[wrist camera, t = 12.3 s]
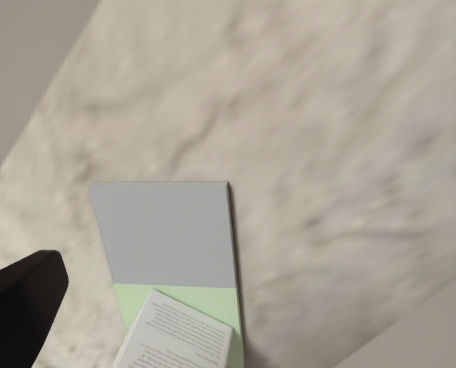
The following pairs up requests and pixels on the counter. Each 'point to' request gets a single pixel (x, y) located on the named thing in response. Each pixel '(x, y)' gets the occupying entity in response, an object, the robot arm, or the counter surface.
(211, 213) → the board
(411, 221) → the counter surface
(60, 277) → the robot arm
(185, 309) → the skincare box
